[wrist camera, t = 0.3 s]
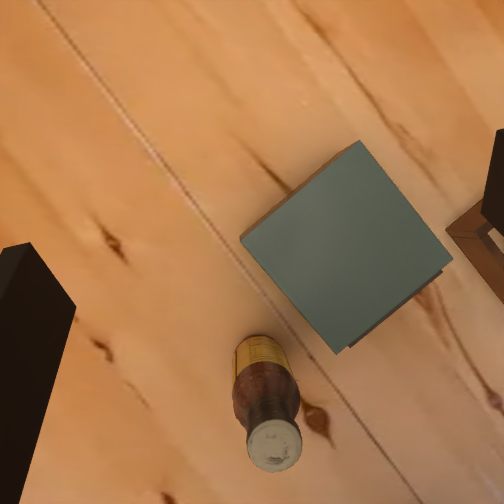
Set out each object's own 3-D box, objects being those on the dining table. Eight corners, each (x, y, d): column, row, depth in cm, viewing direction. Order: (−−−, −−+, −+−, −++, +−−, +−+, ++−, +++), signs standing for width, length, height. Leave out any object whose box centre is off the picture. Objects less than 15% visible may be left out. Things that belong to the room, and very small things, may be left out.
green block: (420, 254, 48) (456, 262, 40) (323, 334, 49) (339, 358, 41) (339, 152, 47) (359, 139, 39) (239, 236, 47) (239, 241, 39)
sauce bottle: (267, 391, 49) (285, 511, 29) (222, 365, 49) (210, 470, 29) (295, 346, 49) (333, 437, 29) (251, 320, 48) (259, 394, 28)
